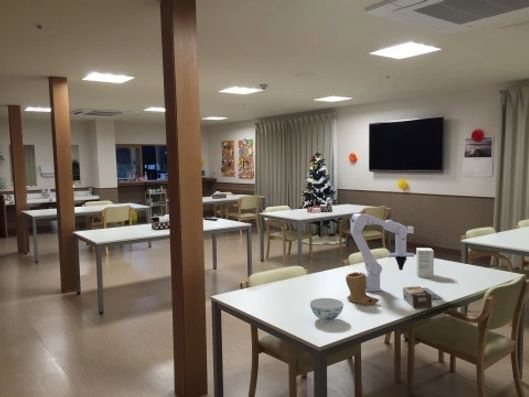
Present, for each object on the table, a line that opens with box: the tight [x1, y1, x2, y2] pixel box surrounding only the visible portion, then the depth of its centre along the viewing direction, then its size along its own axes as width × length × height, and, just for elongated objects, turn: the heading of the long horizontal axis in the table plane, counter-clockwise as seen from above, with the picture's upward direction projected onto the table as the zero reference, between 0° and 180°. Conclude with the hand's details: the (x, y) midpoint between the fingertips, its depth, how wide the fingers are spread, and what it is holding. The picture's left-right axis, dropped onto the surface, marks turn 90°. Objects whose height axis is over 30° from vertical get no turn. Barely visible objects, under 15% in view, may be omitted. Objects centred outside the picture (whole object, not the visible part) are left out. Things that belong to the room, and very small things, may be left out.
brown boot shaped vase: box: [345, 272, 380, 306], centre depth 220 cm, size 15×12×15 cm
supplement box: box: [415, 247, 435, 278], centre depth 271 cm, size 10×9×17 cm
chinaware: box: [309, 297, 345, 323], centre depth 196 cm, size 15×15×8 cm
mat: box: [422, 287, 443, 301], centre depth 233 cm, size 11×20×1 cm, turn 1°
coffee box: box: [402, 285, 433, 309], centre depth 217 cm, size 9×6×16 cm
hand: (400, 269), depth 245 cm, fingers closed
